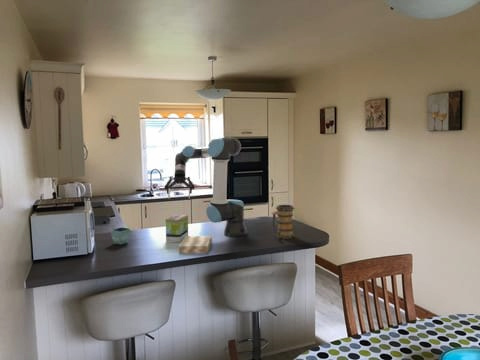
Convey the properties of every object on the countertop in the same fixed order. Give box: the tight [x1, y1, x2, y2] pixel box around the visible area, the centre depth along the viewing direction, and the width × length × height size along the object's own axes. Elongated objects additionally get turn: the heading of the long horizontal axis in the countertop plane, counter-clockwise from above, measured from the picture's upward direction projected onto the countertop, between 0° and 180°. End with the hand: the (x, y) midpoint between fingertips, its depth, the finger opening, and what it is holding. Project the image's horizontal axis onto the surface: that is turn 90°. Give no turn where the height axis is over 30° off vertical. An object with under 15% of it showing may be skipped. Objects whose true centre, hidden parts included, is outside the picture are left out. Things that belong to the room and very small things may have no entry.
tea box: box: [165, 214, 189, 243], centre depth 240 cm, size 15×10×15 cm
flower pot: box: [110, 226, 131, 245], centre depth 233 cm, size 9×9×9 cm
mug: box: [271, 204, 296, 240], centre depth 239 cm, size 13×17×20 cm
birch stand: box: [178, 235, 213, 254], centre depth 221 cm, size 16×22×4 cm
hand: (179, 197), depth 250 cm, fingers open, 13 cm apart
